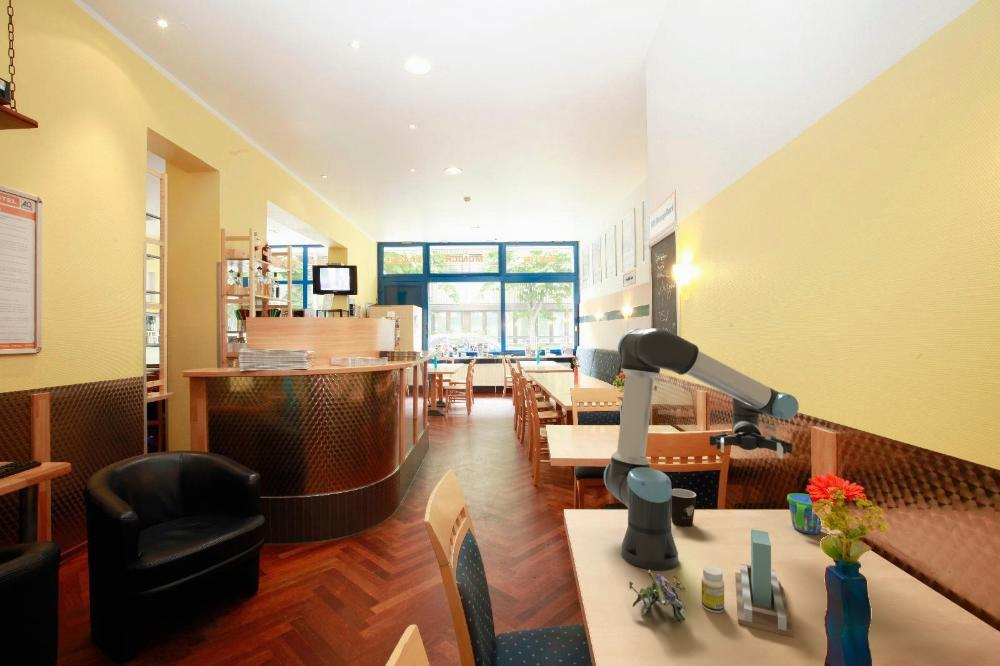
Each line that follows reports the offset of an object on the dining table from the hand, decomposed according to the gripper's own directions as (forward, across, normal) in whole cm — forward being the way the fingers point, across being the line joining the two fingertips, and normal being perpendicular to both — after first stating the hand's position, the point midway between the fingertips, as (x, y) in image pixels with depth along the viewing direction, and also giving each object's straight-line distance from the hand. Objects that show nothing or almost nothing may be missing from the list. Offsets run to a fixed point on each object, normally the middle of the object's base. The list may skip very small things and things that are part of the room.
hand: (751, 450), depth 119 cm
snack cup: (-39, -18, -32) cm, 54 cm away
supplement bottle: (+22, +9, -32) cm, 40 cm away
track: (+15, -1, -32) cm, 35 cm away
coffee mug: (-26, +20, -32) cm, 46 cm away
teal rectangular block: (+14, -1, -31) cm, 34 cm away
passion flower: (+31, +20, -32) cm, 49 cm away
